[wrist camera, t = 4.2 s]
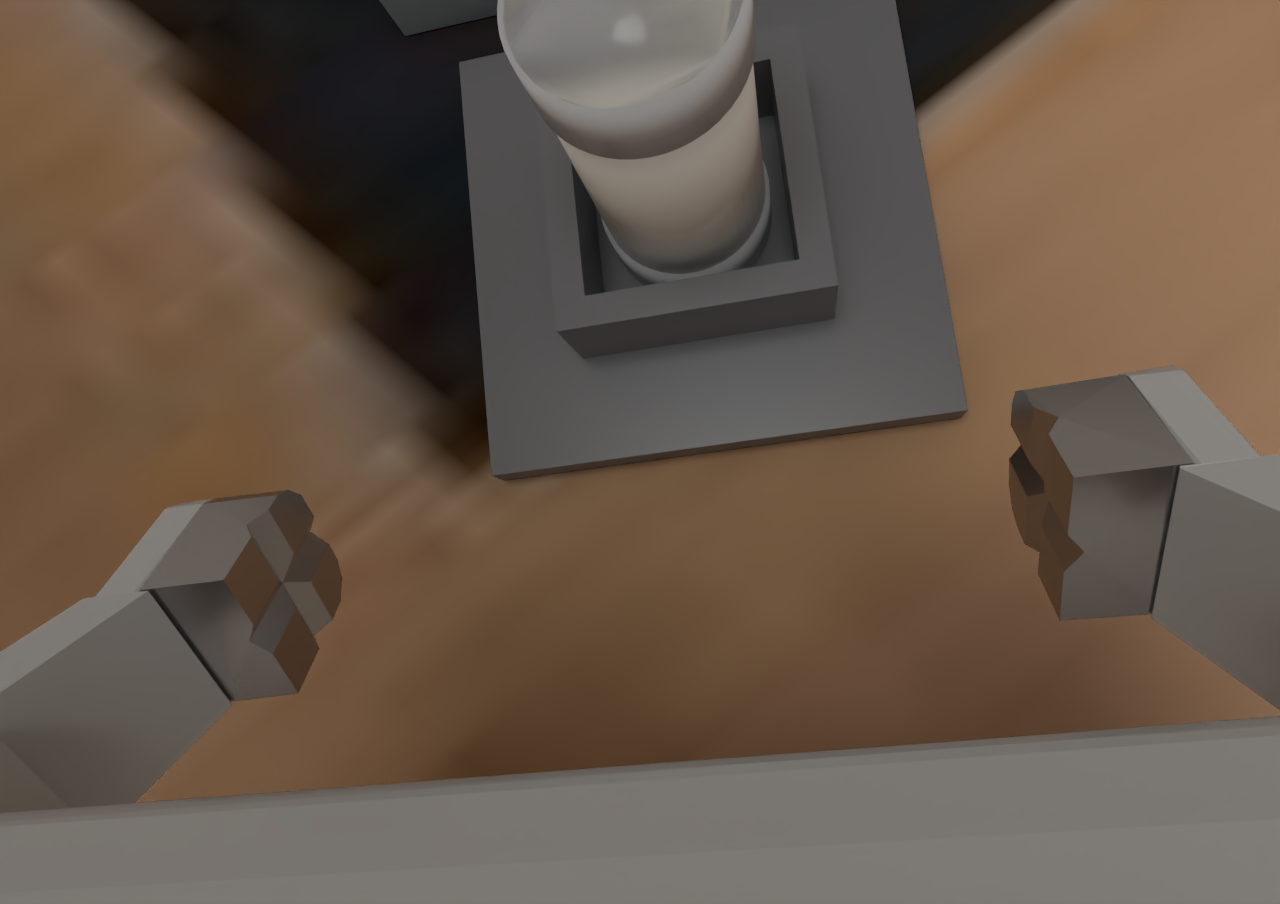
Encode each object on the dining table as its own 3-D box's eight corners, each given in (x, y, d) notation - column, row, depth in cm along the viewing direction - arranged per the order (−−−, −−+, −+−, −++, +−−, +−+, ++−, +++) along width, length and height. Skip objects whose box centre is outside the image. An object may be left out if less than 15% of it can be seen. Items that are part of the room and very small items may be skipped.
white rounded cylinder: (621, 309, 23) (507, 138, 14) (605, 162, 24) (487, -89, 15) (781, 283, 22) (767, 84, 13) (760, 132, 23) (733, -150, 14)
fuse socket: (504, 480, 24) (453, 462, 20) (472, 82, 26) (421, 5, 22) (960, 418, 22) (989, 386, 18) (885, -8, 24) (899, -107, 20)
